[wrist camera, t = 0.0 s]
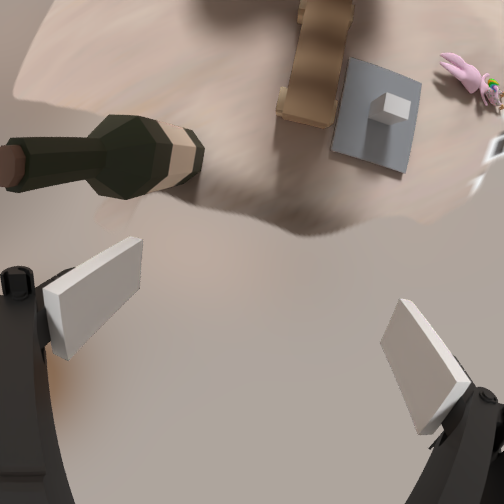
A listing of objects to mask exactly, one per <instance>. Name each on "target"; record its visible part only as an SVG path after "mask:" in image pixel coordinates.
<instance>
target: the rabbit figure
mask: <svg viewBox="0 0 504 504" xmlns="http://www.w3.org/2000/svg"><path fill="white" fill-rule="evenodd" d="M440 56H442V57H443V58H445V59H446V60H448V61H449V62H451V63H452V64H454V65H455V66H457V67H458V68H457V67H455V66H453V65H451V64H448V63H444V62H440V64H441V65H442V66H443V67H444V68H446V69H447V70H448V71H449V72H450V73H451V74H453V75H454V76H455V77H456V78H457V79H458V80H459V81H461V83H462V84H463V85H464V86H465V88H466V89H467V90H468V92H469V93H474V92H475V91H476V90H477V89H478V88H479V90H480V93H481V96H482V99H483V101H484V104H485V105H486V106H487V105H488V104H487V102H486V100H485V97H484V93H485V94H486V97H487V98H488V100H489V102H490V103H491V104H492V105H494V106H501V107H499V108H501V109H500V110H502V109H504V106H503V104H501V102H500V101H499V96H498V95H500V94H502V95H500V96H501V98H502V97H504V92H503V91H501V90H500V89H499V88H498V87H497V86H496V85H499V84H498V83H497V81H495V80H494V79H489V80H488V85H487V84H486V83H485V78H486V77H488V76H489V73H486V74H484V75H483V76H482V77H481V74H480V73H479V71H478V70H477V69H476V68H475V67H474V66H472V65H469V64H467V63H466V62H465V61H464V60H463V59H462V58H461V57H460V56H458V55H456V54H454V53H442V54H440ZM459 68H460V69H459Z"/></svg>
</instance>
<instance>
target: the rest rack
mask: <svg viewBox="0 0 504 504" xmlns="http://www.w3.org/2000/svg"><path fill="white" fill-rule="evenodd" d="M306 3H307V0H300V4H299V9H298V20H297V24H302V22H303V17H304V12H305V8H306ZM354 9H355V5H353V4H352V6H351V13H350V19H349V25H348V29H349V27H350V25H351V24H352V22H353V15H354ZM287 89H288V88H285V87H281V88H280V92H279V97H278V101H277V106H276V115H277V116H281V117H282V112H283V108H284V103H285V99H286V94H287ZM337 105H338V100H335V101H334V106H333V111H332V116H331V121H330V125H328V126H327V127H326V128H328V127H329V126H331V125H332V124H333V123H334V119H335V115H336V110H337Z"/></svg>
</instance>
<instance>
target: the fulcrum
mask: <svg viewBox="0 0 504 504" xmlns="http://www.w3.org/2000/svg"><path fill="white" fill-rule="evenodd" d="M421 85H422V83H419V82H417V81H415V80H413V79H410V78H408V77H405V76H403V75H400V74H398V73H395V72H393V71H390V70H388V69H385V68H382V67H379V66H377V65H374V64H371V63H368V62H365V61H362V60H359V59H355V58H352V57H350V58H349V59H348V65H347V70H346V76H345V81H344V86H343V91H342V96H341V101H340V106H339V111H338V116H337V121H336V126H335V130H334V135H333V140H332V144H331V149H330V151H334V152H337V153H341V154H344V155H348V156H351V157H354V158H358V159H361V160H364V161H367V162H371V163H374V164H377V165H380V166H383V167H386V168H389V169H392V170H395V171H398V172H401V173H405V174H406V169H407V165H408V160H409V156H410V151H411V146H412V141H413V136H414V130H415V125H416V119H417V113H418V107H419V100H420V93H421Z"/></svg>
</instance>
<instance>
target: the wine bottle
mask: <svg viewBox="0 0 504 504" xmlns="http://www.w3.org/2000/svg"><path fill="white" fill-rule="evenodd" d="M204 150H205V148H204V146H203V145H202V144H201V142H200V141H199V139H198V138H197V136H196V135H195V134H194V132H193V131H192V130H189V129H185V128H182V127H179V126H175V125H171V124H168V123H164V122H160V121H157V120H153V119H149V118H145V117H141V116H133V115H108V116H107V117H106V118H105V119H104V120H103V121H102V122H101V123H100V124H99V125H98V126H97V127H96V128H95V129H94V130H93V131H92V132H91V134H90V135H89V136H88V137H87V138H81V137H79V138H78V137H21V138H10V139H9V141H8V143H7V144H6V145H4V146H1V147H0V187H5V188H6V190H7V191H10V192H15V193H21V192H25V191H30V190H34V189H39V188H44V187H48V186H53V185H58V184H63V183H69V182H74V181H79V180H86V181H87V182H88V183H89V184H90V186H91V187H92V188H93V189H94V190H95V191H96V193H97V194H98V195H101V196H106V197H112V198H118V199H123V200H128V199H131V198H135V197H138V196H141V195H145V194H148V193H151V192H155V191H158V190H162V189H166V188H169V187H173V186H177V185H180V184H184V183H185V182H186V181H188V180H189V179H190V178H192V177H193V176H194V175H196V174H197V173H198V172H200V171H201V167H202V161H203V156H204Z"/></svg>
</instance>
